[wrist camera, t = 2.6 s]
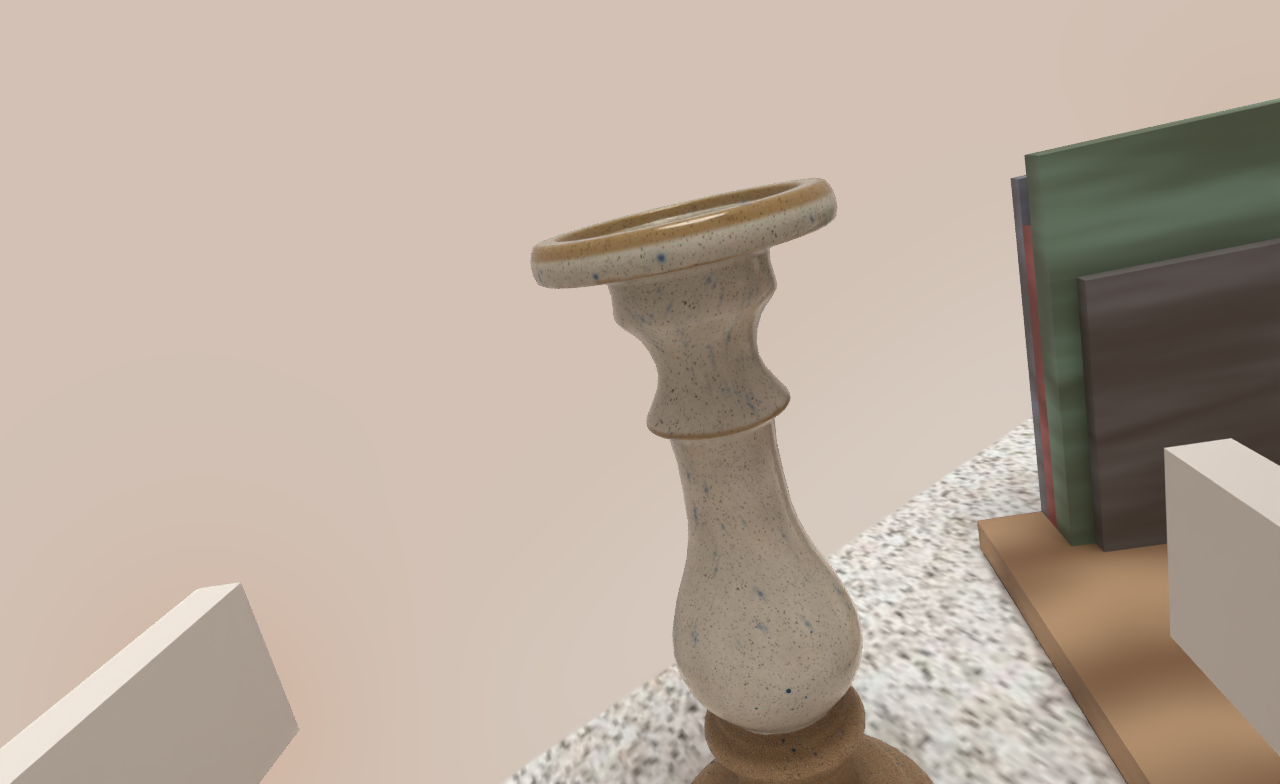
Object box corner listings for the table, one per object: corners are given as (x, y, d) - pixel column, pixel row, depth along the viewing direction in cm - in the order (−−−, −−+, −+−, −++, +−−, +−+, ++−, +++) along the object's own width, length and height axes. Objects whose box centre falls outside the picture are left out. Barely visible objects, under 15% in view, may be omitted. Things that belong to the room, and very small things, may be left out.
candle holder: (661, 780, 29) (515, 240, 23) (889, 723, 29) (797, 172, 23) (698, 1030, 20) (481, 271, 15) (1020, 945, 20) (924, 165, 15)
